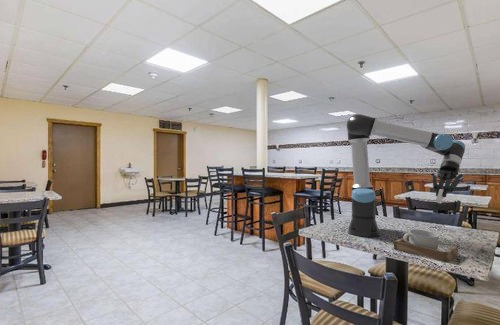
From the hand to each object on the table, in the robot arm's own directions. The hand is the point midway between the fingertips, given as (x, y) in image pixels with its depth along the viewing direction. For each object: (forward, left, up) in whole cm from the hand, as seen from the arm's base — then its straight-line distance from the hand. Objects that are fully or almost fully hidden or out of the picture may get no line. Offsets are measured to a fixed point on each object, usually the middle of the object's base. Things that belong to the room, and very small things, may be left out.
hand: (438, 201), depth 123 cm
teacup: (-10, -14, -20) cm, 27 cm away
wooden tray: (-9, -15, -20) cm, 26 cm away
